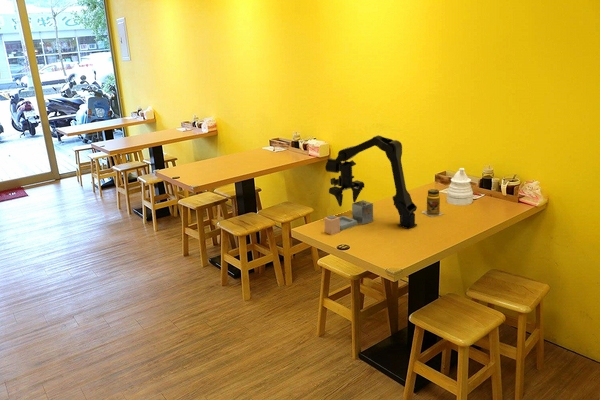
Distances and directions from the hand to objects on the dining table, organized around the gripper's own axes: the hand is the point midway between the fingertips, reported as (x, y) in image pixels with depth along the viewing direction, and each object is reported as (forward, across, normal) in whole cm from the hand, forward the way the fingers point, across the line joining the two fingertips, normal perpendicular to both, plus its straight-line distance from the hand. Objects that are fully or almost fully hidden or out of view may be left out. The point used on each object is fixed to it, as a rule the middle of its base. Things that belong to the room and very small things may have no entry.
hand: (347, 204), depth 252 cm
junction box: (+6, 0, +11) cm, 13 cm away
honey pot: (+6, -56, +25) cm, 61 cm away
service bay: (+6, +10, +8) cm, 14 cm away
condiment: (+6, -32, +27) cm, 42 cm away
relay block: (+6, +20, +12) cm, 23 cm away
